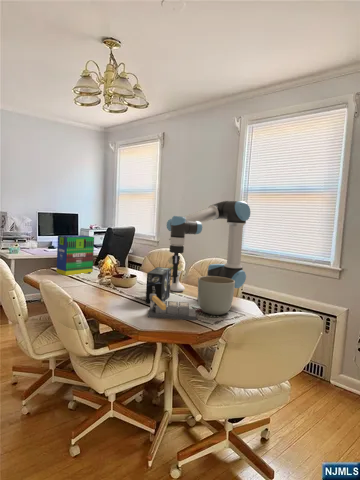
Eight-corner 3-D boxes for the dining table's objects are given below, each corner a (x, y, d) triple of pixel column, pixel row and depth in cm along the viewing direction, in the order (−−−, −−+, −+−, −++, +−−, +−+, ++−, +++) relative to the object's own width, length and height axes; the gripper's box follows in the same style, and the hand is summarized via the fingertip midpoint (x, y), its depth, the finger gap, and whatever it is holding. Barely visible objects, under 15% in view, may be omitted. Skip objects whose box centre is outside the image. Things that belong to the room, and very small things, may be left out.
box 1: (83, 270, 295) (84, 235, 292) (92, 272, 286) (94, 237, 284) (56, 272, 276) (57, 235, 273) (65, 275, 267) (67, 237, 265)
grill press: (194, 312, 192) (195, 299, 192) (195, 320, 178) (196, 306, 178) (150, 309, 192) (150, 296, 191) (148, 317, 178) (148, 303, 177)
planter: (205, 304, 210) (208, 274, 208) (237, 311, 199) (240, 279, 198) (189, 312, 192) (191, 279, 190) (223, 320, 181) (226, 285, 180)
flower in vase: (184, 289, 248) (186, 255, 246) (185, 293, 236) (187, 257, 234) (166, 288, 247) (168, 254, 245) (166, 291, 236) (168, 256, 234)
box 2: (161, 305, 202) (163, 274, 200) (144, 303, 203) (146, 272, 202) (170, 296, 224) (171, 268, 223) (155, 294, 226) (157, 266, 225)
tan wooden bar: (148, 298, 185) (148, 293, 185) (155, 298, 186) (155, 293, 186) (160, 310, 164) (160, 305, 164) (167, 310, 166) (167, 304, 165)
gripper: (170, 243, 188) (167, 285, 190) (169, 245, 175) (166, 291, 177) (183, 244, 188) (180, 286, 190) (184, 246, 176) (181, 291, 177)
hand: (173, 288), depth 184 cm, fingers closed
